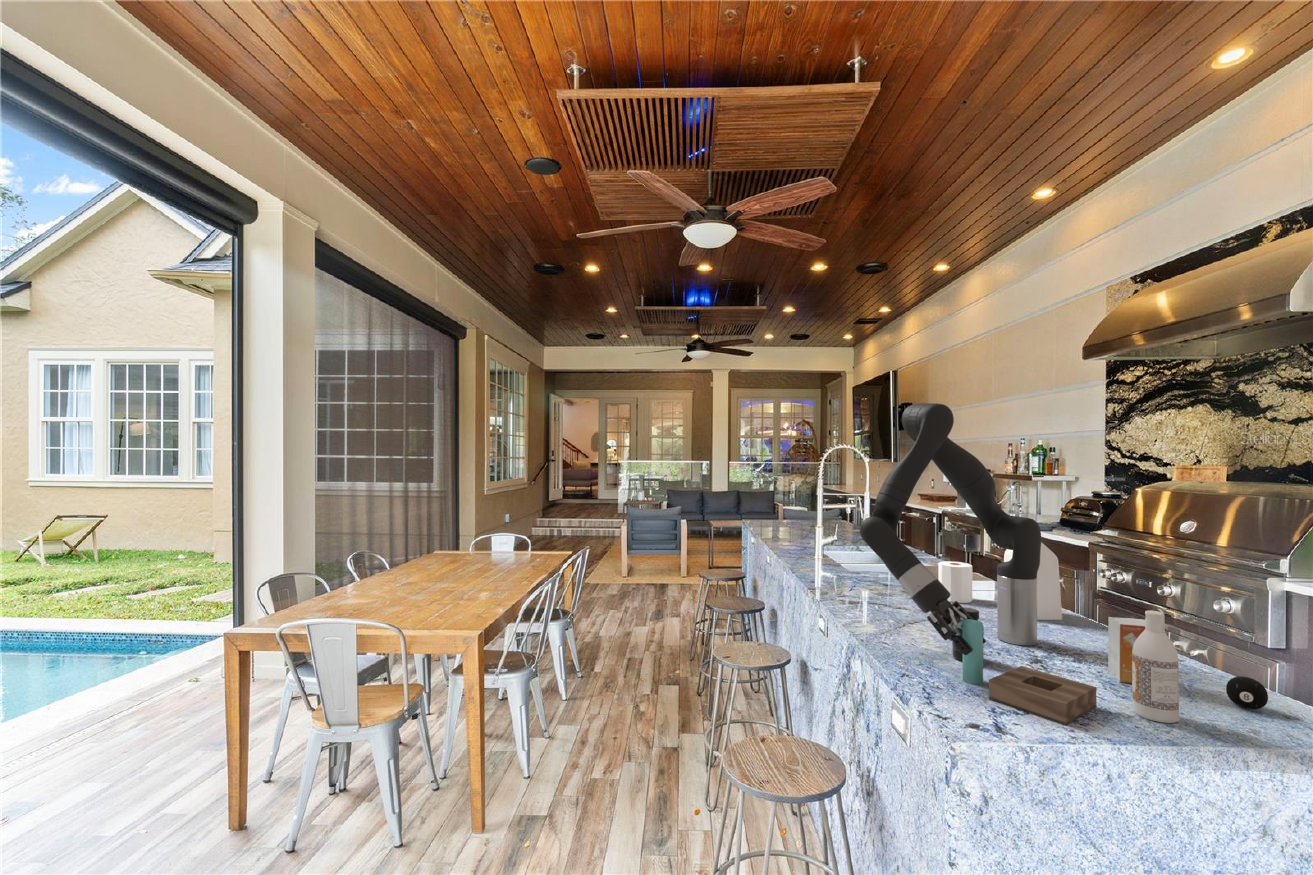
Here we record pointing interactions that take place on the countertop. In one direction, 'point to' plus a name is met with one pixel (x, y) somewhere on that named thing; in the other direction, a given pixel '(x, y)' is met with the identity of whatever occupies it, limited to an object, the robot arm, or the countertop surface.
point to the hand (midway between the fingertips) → (976, 648)
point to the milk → (1046, 585)
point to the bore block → (1043, 694)
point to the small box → (1122, 646)
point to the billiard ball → (1247, 692)
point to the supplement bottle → (955, 650)
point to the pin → (973, 652)
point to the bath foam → (1155, 672)
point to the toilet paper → (956, 580)
